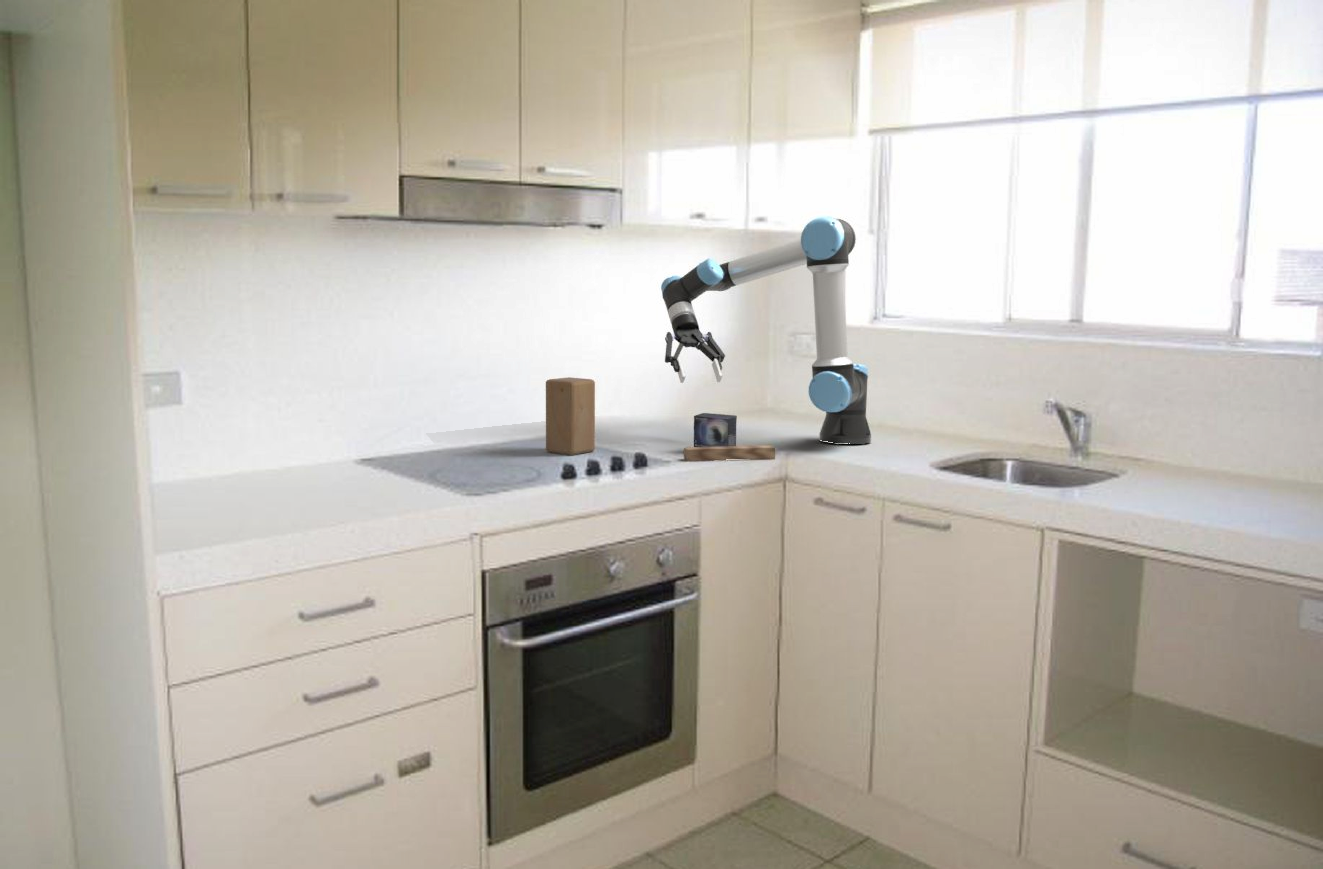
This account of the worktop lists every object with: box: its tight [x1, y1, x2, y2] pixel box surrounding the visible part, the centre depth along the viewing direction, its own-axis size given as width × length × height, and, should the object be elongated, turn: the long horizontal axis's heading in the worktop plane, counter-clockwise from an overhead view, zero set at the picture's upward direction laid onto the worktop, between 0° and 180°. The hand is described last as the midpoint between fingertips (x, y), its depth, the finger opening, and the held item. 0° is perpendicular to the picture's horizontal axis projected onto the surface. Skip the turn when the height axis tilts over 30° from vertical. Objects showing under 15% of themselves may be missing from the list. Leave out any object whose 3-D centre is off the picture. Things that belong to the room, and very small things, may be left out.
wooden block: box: [545, 377, 596, 456], centre depth 301 cm, size 10×10×20 cm
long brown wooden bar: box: [683, 444, 776, 462], centre depth 293 cm, size 24×4×4 cm, turn 102°
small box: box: [693, 412, 738, 447], centre depth 303 cm, size 11×6×10 cm, turn 62°
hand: (701, 379), depth 311 cm, fingers open, 10 cm apart
